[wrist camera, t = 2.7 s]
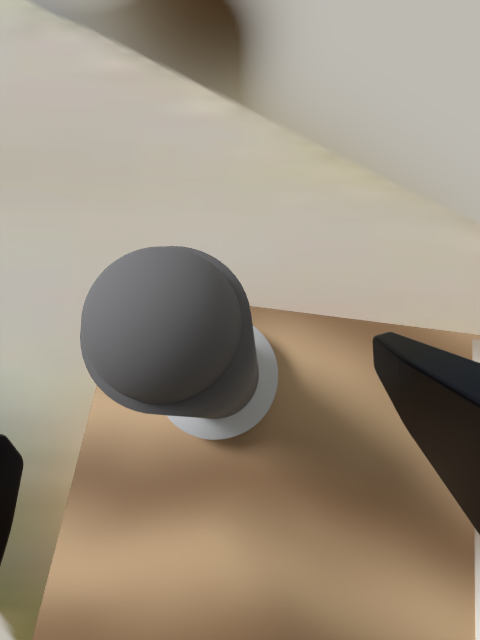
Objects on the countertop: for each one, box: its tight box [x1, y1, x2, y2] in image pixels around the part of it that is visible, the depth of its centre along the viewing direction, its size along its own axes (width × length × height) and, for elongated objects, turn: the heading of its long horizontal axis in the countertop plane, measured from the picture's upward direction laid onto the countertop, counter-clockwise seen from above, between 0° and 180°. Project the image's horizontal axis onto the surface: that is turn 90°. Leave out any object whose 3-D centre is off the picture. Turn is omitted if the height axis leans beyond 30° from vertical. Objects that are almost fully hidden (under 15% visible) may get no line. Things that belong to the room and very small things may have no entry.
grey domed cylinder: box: [80, 246, 278, 440], centre depth 11 cm, size 5×5×11 cm
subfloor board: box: [32, 306, 480, 640], centre depth 15 cm, size 16×23×2 cm
